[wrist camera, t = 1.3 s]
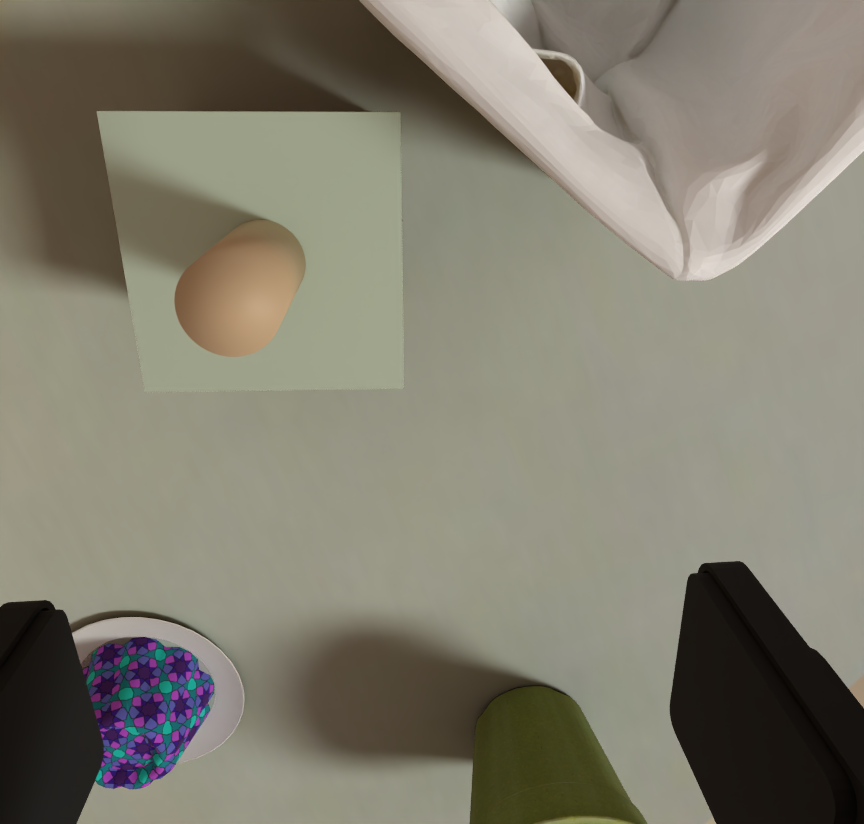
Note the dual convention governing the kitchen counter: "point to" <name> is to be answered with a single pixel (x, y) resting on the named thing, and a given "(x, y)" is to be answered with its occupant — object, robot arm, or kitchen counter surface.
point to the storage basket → (661, 107)
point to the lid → (260, 247)
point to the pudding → (156, 697)
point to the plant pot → (543, 765)
